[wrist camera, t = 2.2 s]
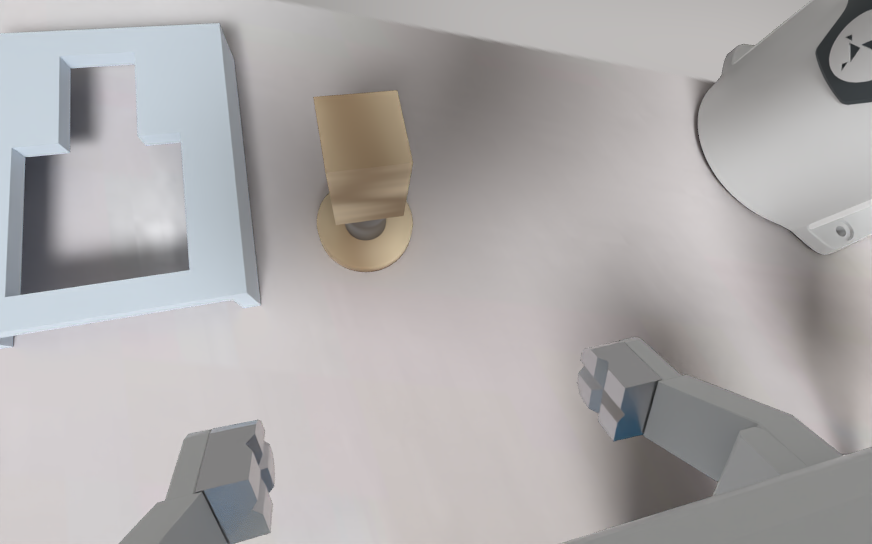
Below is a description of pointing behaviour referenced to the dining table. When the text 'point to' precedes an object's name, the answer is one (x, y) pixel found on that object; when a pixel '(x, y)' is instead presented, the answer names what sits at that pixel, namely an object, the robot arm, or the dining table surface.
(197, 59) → the keyhole plate
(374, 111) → the beech peg
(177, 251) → the dining table surface
